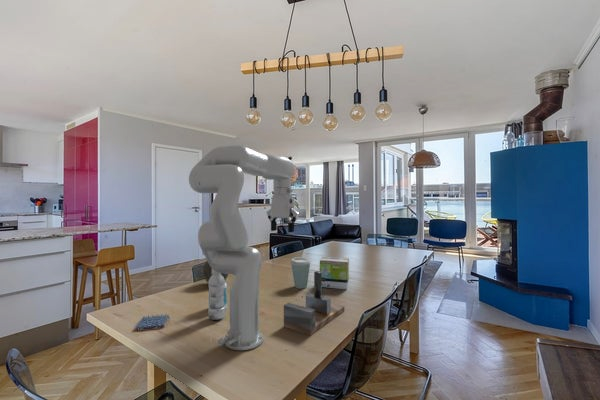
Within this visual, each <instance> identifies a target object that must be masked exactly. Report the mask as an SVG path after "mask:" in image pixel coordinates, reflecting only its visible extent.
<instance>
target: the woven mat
mask: <svg viewBox="0 0 600 400" xmlns="http://www.w3.org/2000/svg"><path fill="white" fill-rule="evenodd" d="M170 318H171V316H170V314H167V313H166V314H161V315H158V314H156V315H151V316H149V315H147V316H143V317H142V318H140V320H139V321H138V323H137V325H135V329H136V330H135V332H141V331H142V330H144V331H148V330H147V329H153V330H159V329H160V330H161V328H162V329H166V327H167V325H168V322H169V320H170ZM159 327H160V328H159ZM138 328H139V330H141V331H139V330H138ZM137 330H138V331H137Z"/></svg>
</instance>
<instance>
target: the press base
mask: <svg viewBox="0 0 600 400" xmlns="http://www.w3.org/2000/svg"><path fill="white" fill-rule="evenodd" d="M344 312H345V306H344V305H341V304H337V303H333V302H331V313H329V314H328V315H324V314H321V313H317V312H315V309H311V308H307V307H306V306H303V305H299V304H295V303H291V302H287V303H284V304H283V327H285V328H287V329H291V330H294V331H296V332H299V333H303V334H306V335H308V336H312V335H313V334H315V333H316V332H318V331H319V330H321V329H322V328H323V327H325V326H326V325H327V324H328V323H330V322H332V321H333V320H334V319H336V318H337V317H338V316H339V315H341V314H342V313H344Z"/></svg>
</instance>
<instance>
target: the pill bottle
mask: <svg viewBox="0 0 600 400" xmlns="http://www.w3.org/2000/svg"><path fill="white" fill-rule="evenodd" d="M223 278H224V277H223ZM227 299H228V283H226V282H225V286H224V307H225V310H226V309H227V307H228V300H227ZM209 303H210V293H209V292H208V304H209Z"/></svg>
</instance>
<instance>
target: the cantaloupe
mask: <svg viewBox="0 0 600 400" xmlns="http://www.w3.org/2000/svg"><path fill="white" fill-rule="evenodd" d="M202 274H203V275H202V276H203V278H204V280H205V281H206V282H207V283H208V282H209V279H210V277H211V276H212V268H211V266H210V265H209V263H208V261H207V260H206V262H204V265H203V268H202ZM221 275H222V276H223V277H224V279H225V281H226V280H227V278H228V276H229V274H224V273H221Z"/></svg>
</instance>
